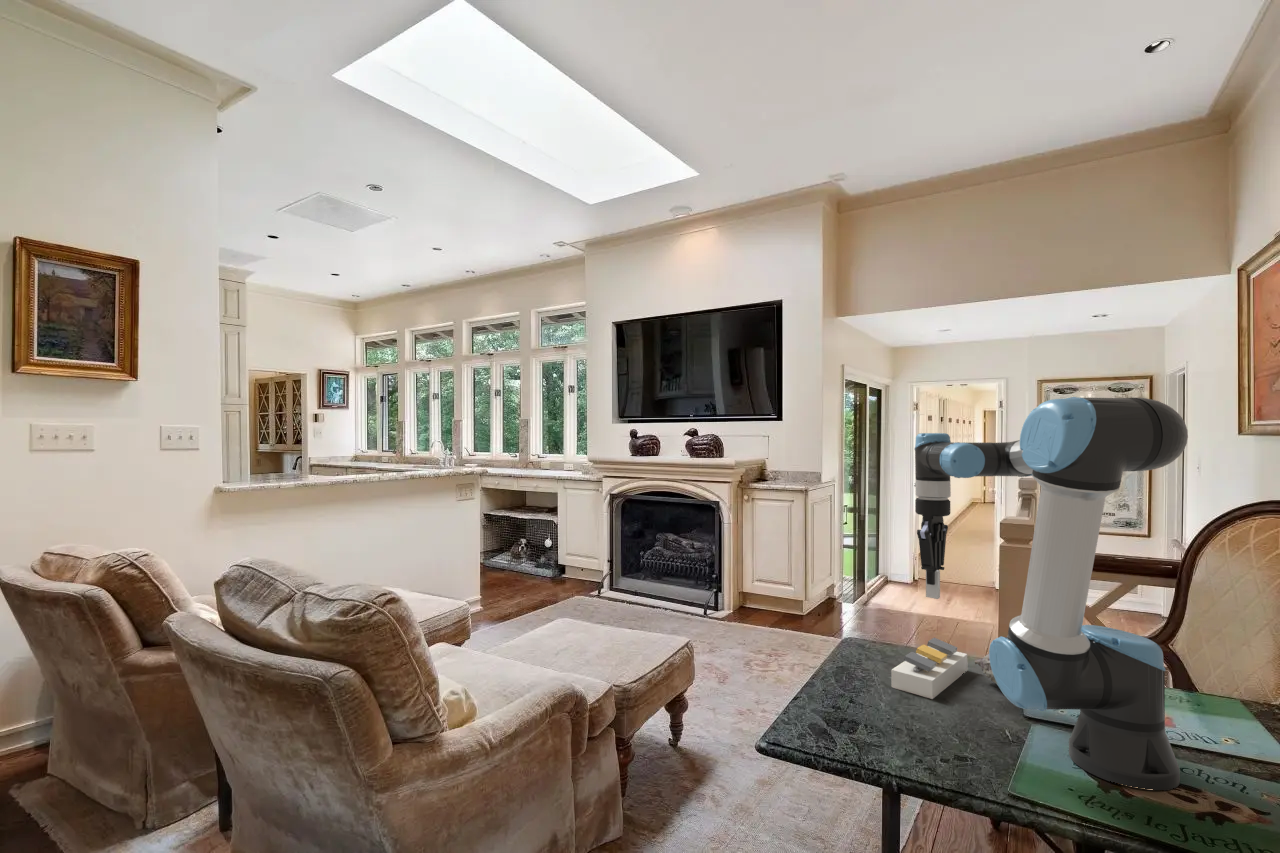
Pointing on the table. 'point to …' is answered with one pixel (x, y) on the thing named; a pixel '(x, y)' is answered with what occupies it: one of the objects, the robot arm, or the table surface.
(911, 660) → the block
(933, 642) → the block
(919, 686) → the white rocker switch box
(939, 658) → the amber rocker
